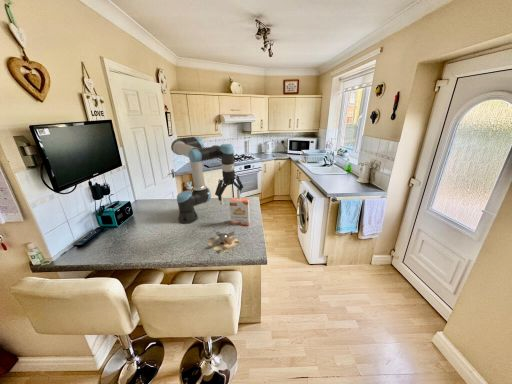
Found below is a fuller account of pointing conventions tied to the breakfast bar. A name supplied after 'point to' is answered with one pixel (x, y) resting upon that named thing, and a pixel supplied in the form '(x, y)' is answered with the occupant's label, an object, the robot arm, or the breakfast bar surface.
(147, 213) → the breakfast bar surface
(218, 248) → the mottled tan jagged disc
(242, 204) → the cracker box
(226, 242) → the capstan
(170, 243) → the breakfast bar surface
